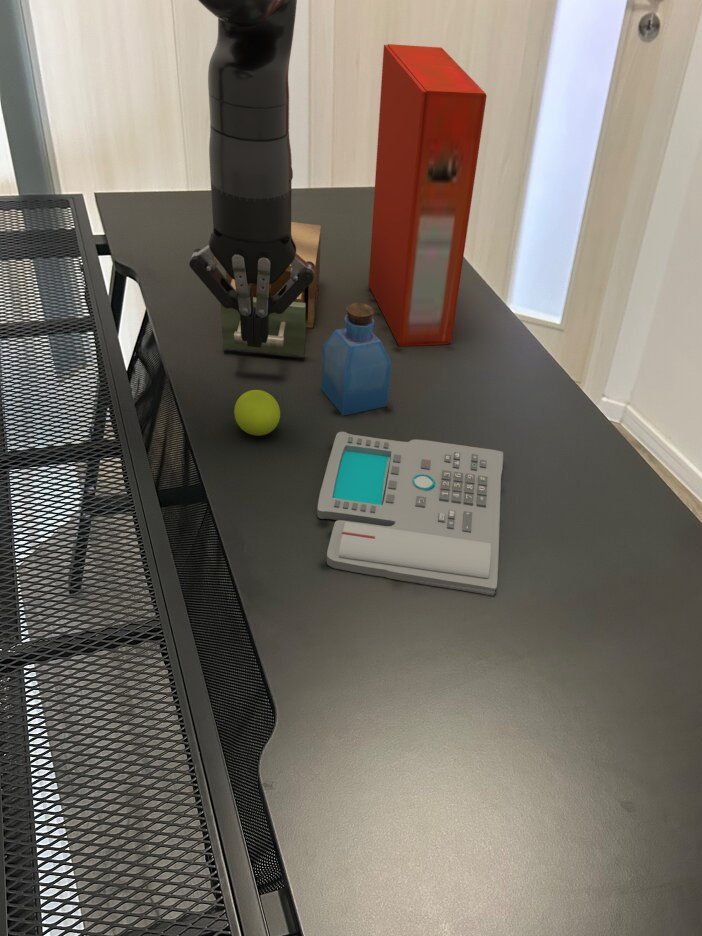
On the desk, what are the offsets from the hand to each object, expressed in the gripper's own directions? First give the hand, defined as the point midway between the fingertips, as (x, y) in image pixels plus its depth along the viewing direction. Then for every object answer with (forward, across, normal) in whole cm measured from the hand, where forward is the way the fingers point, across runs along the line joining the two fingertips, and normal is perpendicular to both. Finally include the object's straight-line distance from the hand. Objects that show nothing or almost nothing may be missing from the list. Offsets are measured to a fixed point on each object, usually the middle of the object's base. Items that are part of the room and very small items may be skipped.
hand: (255, 343), depth 93 cm
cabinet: (+11, -1, +31) cm, 33 cm away
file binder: (+11, +18, +31) cm, 38 cm away
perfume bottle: (+11, +11, +8) cm, 18 cm away
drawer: (+10, -1, +19) cm, 22 cm away
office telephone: (+11, +18, -13) cm, 25 cm away
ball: (+11, 0, -1) cm, 11 cm away
